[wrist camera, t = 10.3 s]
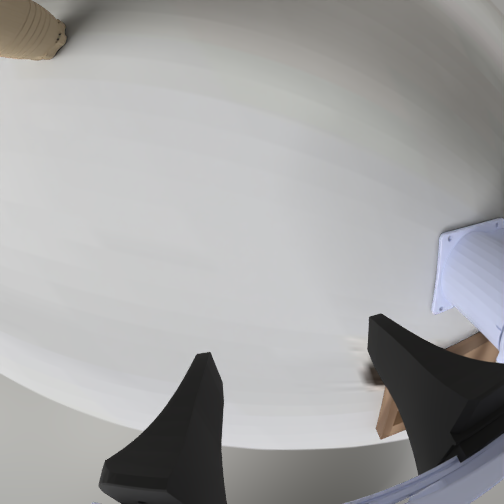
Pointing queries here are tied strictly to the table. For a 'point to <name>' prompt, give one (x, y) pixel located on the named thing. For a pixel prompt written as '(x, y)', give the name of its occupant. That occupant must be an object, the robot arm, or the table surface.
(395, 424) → the slotted walnut block
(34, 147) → the table surface
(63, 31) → the handle
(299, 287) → the table surface
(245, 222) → the table surface
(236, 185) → the table surface
